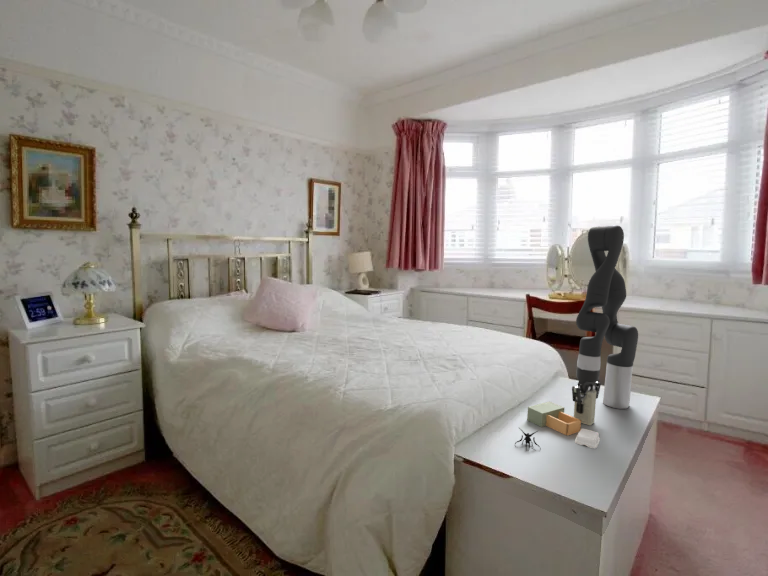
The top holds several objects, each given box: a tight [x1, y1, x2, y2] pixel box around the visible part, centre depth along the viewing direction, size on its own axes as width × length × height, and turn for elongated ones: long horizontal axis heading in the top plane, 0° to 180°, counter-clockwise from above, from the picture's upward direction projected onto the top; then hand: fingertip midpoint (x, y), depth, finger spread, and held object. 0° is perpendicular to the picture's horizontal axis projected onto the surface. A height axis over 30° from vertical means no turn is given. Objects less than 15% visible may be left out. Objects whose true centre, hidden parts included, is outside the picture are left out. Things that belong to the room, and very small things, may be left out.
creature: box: [514, 427, 542, 452], centre depth 135 cm, size 8×5×8 cm
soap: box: [574, 428, 601, 449], centre depth 140 cm, size 9×7×3 cm
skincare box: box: [573, 390, 597, 426], centre depth 155 cm, size 6×4×12 cm
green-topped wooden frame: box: [526, 401, 582, 437], centre depth 151 cm, size 12×15×5 cm
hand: (584, 411), depth 155 cm, fingers closed on skincare box, 5 cm apart
